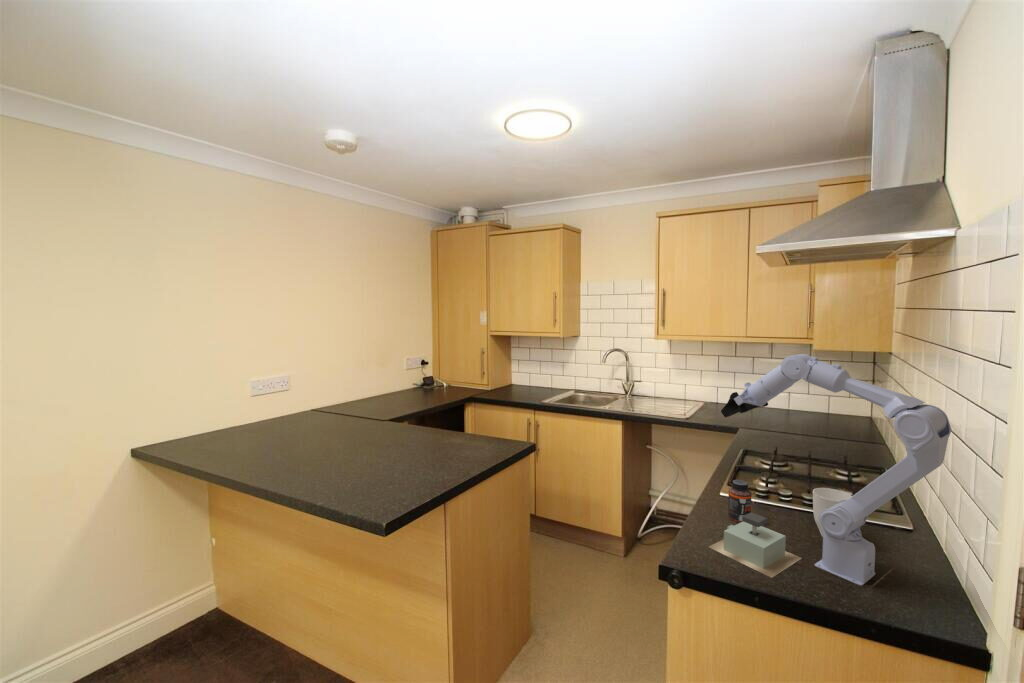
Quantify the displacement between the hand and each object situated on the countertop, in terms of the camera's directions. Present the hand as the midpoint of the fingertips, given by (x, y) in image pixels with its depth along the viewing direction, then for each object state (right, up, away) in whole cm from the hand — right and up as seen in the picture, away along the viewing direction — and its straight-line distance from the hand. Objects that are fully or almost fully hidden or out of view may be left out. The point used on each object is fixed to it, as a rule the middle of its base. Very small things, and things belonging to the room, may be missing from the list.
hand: (731, 412), depth 126 cm
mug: (+25, -33, -5) cm, 41 cm away
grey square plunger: (-1, -30, -14) cm, 33 cm away
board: (-1, -34, -13) cm, 36 cm away
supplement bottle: (+4, -32, +4) cm, 33 cm away
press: (-1, -33, -13) cm, 36 cm away
